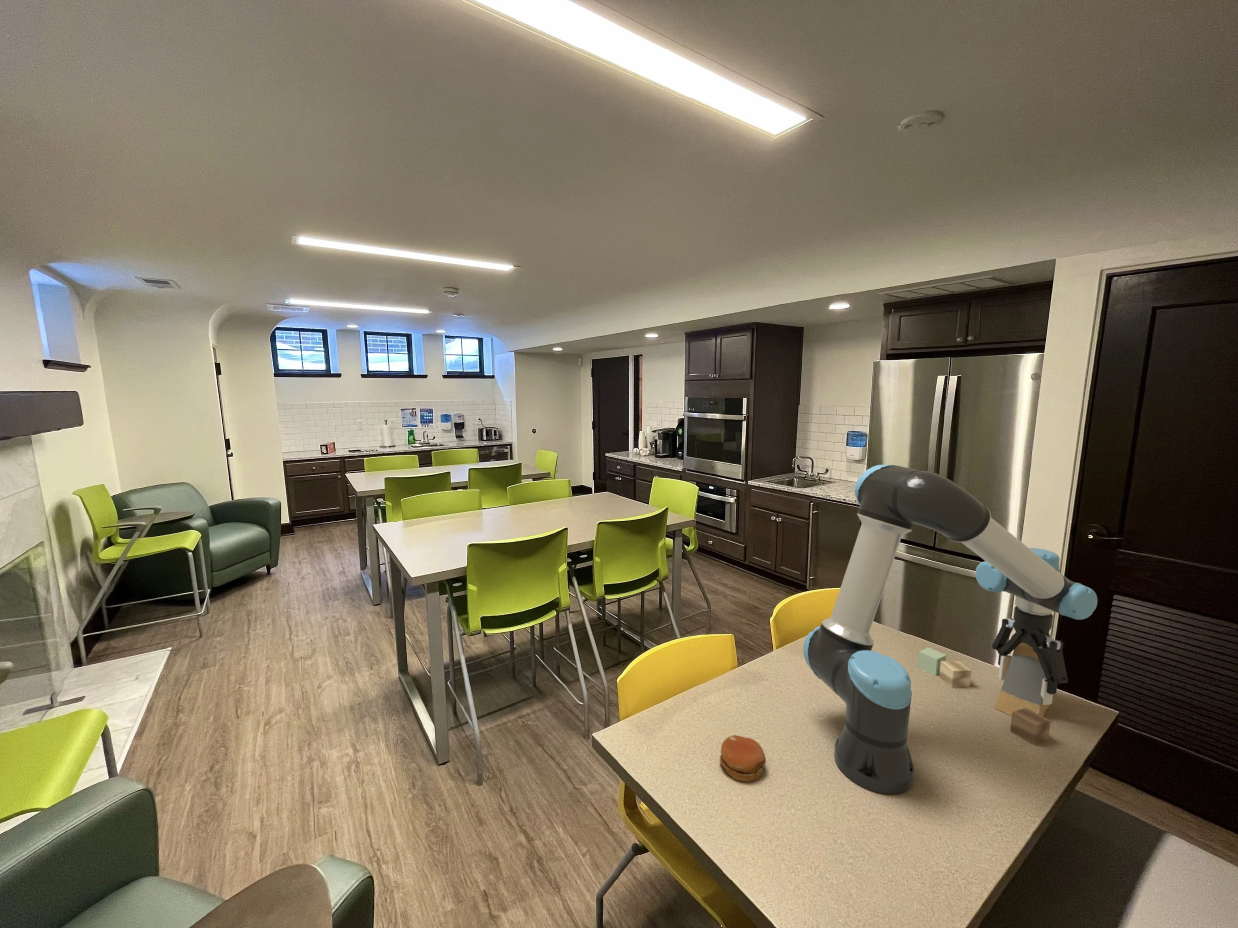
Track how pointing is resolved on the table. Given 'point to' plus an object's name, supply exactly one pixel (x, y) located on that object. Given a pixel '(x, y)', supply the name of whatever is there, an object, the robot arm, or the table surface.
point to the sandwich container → (1022, 683)
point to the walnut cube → (1030, 726)
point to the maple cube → (955, 674)
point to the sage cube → (930, 660)
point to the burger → (742, 758)
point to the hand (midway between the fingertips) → (1023, 690)
